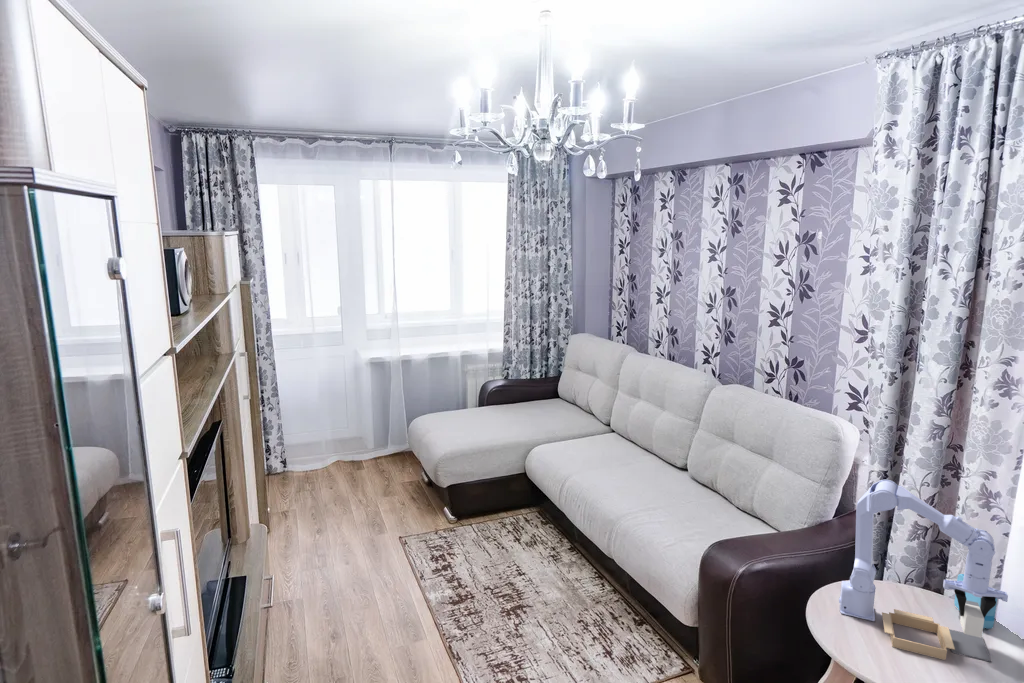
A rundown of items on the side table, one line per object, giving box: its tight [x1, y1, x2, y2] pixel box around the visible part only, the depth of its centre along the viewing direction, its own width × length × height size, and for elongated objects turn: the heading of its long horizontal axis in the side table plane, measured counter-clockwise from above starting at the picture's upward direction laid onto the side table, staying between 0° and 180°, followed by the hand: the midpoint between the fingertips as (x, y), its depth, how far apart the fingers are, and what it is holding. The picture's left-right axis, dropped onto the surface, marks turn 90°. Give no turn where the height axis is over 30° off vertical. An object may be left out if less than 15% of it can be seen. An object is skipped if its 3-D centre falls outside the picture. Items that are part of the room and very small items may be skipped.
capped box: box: [958, 600, 984, 638], centre depth 173 cm, size 4×8×6 cm, turn 153°
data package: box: [953, 573, 998, 630], centre depth 186 cm, size 12×4×12 cm, turn 173°
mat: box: [949, 629, 992, 663], centre depth 175 cm, size 9×11×1 cm
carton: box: [881, 608, 955, 661], centre depth 178 cm, size 17×15×3 cm
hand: (971, 616), depth 173 cm, fingers closed on capped box, 4 cm apart
